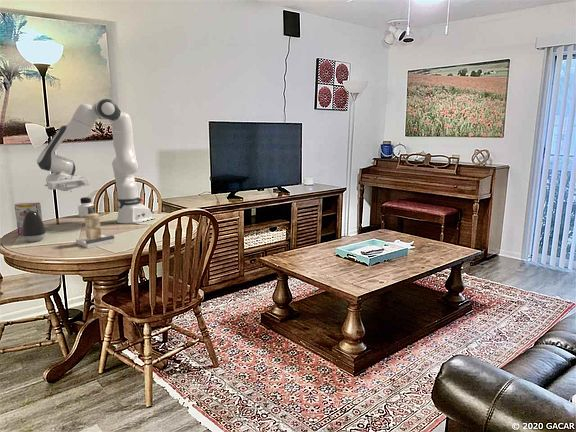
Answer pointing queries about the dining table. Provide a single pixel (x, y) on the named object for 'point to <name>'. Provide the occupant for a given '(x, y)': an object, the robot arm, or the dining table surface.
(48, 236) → the dining table surface
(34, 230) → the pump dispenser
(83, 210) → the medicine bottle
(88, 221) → the oak block
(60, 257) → the dining table surface
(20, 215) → the candy bar box
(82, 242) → the dock
